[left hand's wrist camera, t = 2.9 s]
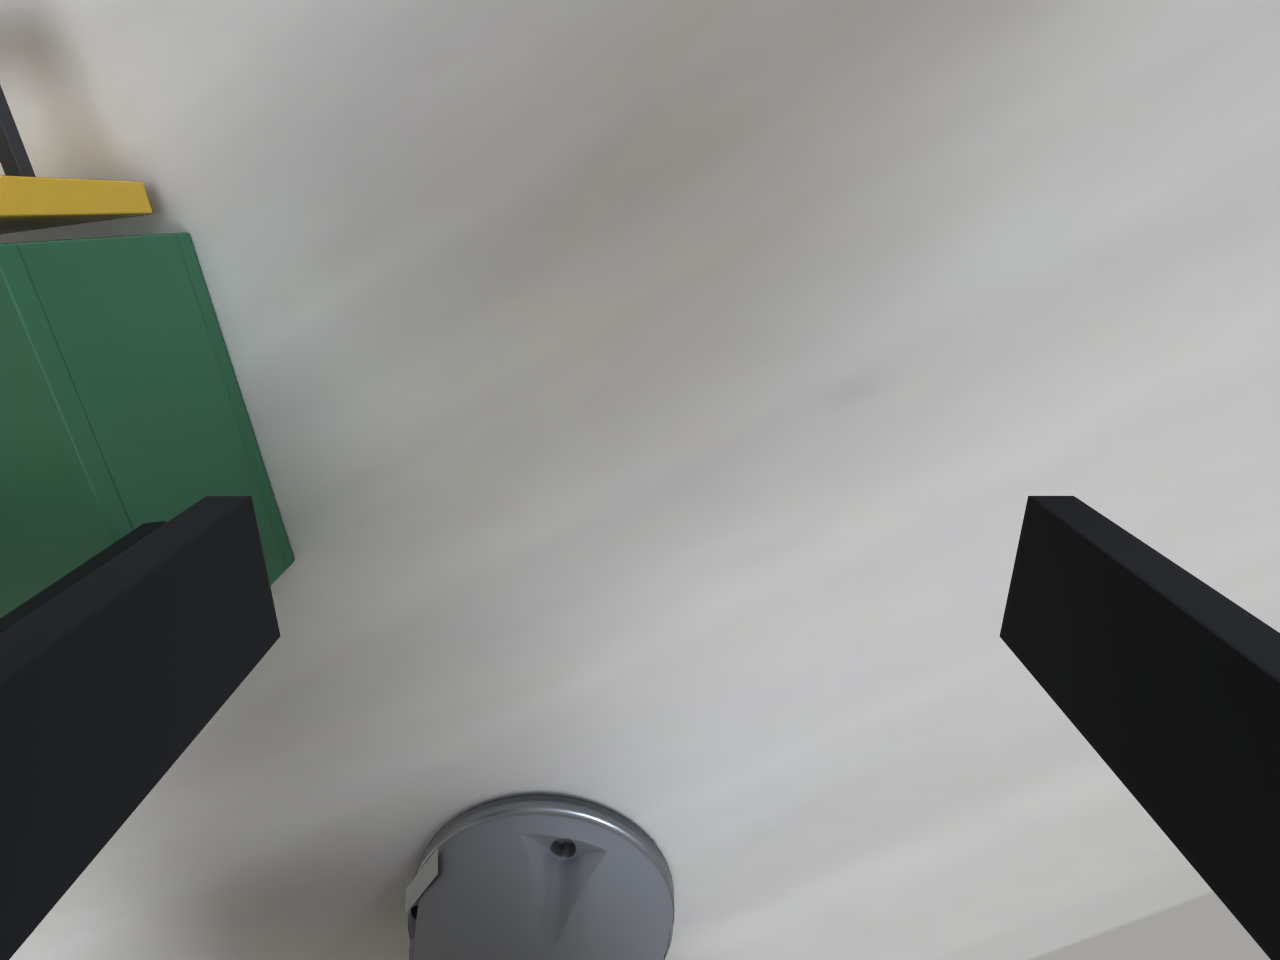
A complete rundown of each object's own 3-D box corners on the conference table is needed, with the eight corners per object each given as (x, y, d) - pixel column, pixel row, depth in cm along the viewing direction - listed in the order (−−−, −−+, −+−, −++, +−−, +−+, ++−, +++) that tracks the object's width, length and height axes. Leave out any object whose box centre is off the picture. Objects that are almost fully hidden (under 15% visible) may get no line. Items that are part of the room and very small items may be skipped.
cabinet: (-61, 264, 31) (-361, 290, 21) (189, 232, 30) (-10, 244, 21) (82, 583, 36) (-109, 712, 27) (295, 560, 35) (174, 684, 26)
